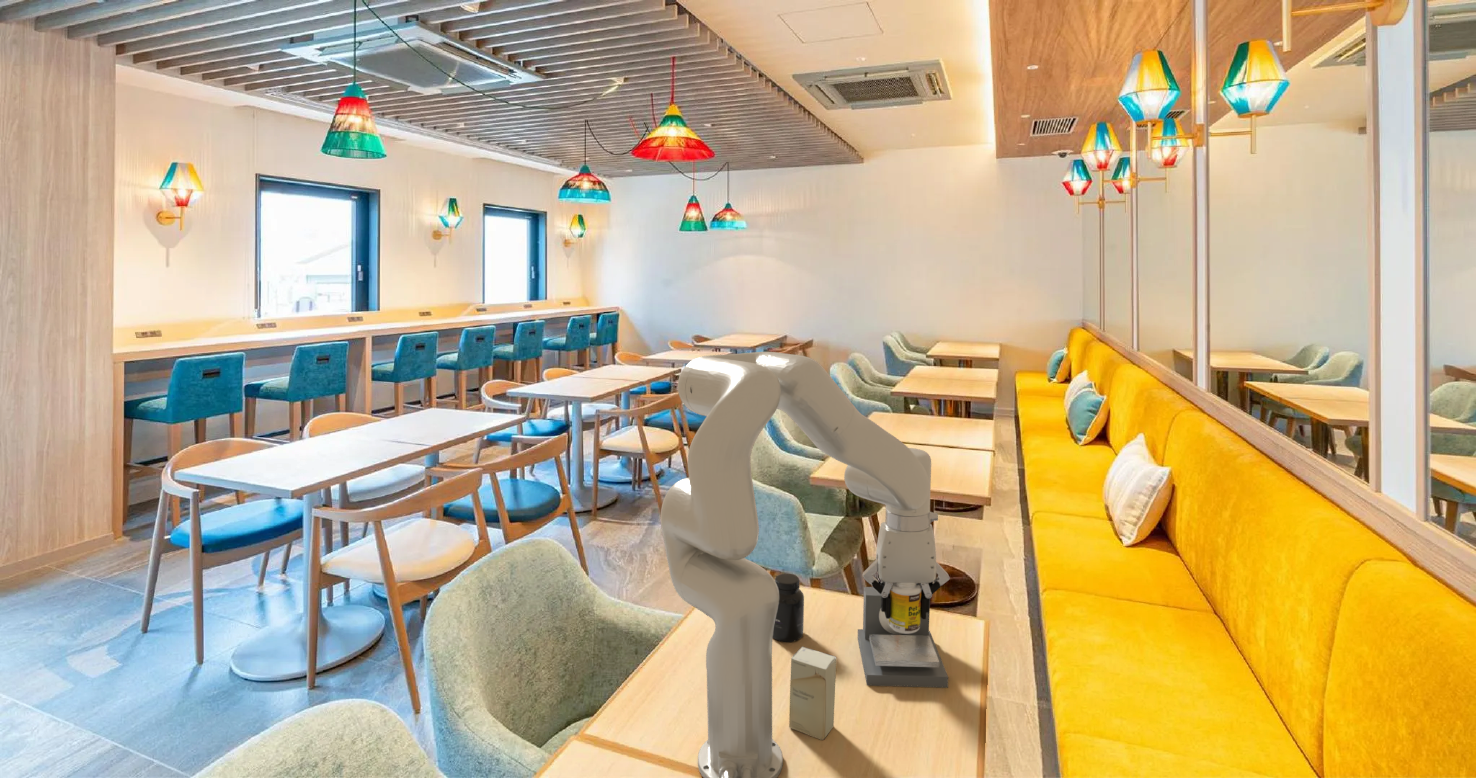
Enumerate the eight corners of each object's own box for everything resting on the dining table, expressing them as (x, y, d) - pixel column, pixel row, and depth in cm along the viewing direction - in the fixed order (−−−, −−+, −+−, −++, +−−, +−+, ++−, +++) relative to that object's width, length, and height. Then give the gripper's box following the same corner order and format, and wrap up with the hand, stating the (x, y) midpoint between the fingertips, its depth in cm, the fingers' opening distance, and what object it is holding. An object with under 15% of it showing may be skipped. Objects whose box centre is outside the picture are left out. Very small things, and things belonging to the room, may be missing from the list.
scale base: (947, 687, 124) (950, 628, 123) (866, 685, 125) (868, 627, 123) (929, 640, 140) (931, 587, 138) (857, 638, 141) (858, 586, 139)
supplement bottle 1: (765, 640, 141) (765, 583, 139) (774, 623, 147) (774, 569, 145) (799, 645, 139) (800, 587, 137) (806, 628, 145) (807, 573, 143)
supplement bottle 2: (909, 638, 125) (910, 583, 123) (882, 627, 128) (883, 574, 127) (926, 626, 128) (928, 573, 127) (900, 616, 132) (901, 564, 131)
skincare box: (788, 728, 114) (788, 658, 112) (800, 713, 118) (801, 645, 116) (824, 741, 111) (825, 669, 109) (836, 725, 114) (837, 655, 112)
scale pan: (939, 672, 125) (939, 661, 124) (875, 670, 125) (875, 660, 125) (928, 645, 133) (929, 635, 133) (869, 644, 134) (869, 634, 134)
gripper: (952, 512, 128) (948, 606, 131) (855, 511, 129) (854, 604, 132) (962, 527, 121) (958, 626, 124) (860, 526, 122) (858, 624, 125)
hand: (904, 614), depth 128 cm, fingers closed on supplement bottle 2, 5 cm apart
